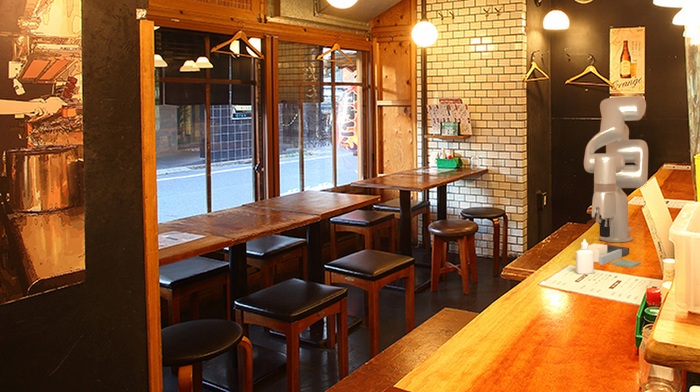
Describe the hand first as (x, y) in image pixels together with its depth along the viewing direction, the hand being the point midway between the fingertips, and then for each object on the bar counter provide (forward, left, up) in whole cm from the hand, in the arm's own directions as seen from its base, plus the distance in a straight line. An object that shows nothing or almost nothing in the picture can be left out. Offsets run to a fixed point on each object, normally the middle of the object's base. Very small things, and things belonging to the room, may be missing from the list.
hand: (604, 236), depth 223 cm
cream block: (+5, 0, -8) cm, 10 cm away
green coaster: (+5, +11, -8) cm, 14 cm away
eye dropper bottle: (+24, +6, -8) cm, 26 cm away
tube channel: (+4, 0, -8) cm, 9 cm away
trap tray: (-7, 0, -8) cm, 10 cm away
